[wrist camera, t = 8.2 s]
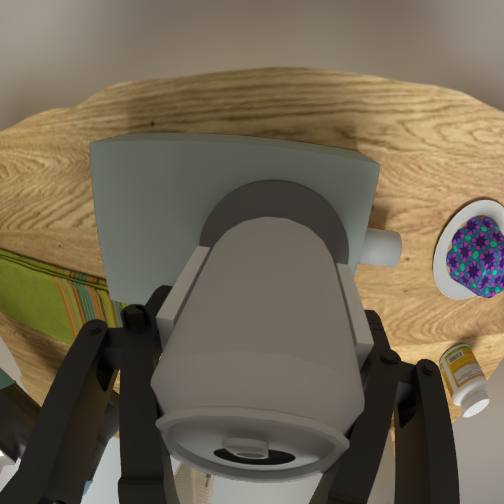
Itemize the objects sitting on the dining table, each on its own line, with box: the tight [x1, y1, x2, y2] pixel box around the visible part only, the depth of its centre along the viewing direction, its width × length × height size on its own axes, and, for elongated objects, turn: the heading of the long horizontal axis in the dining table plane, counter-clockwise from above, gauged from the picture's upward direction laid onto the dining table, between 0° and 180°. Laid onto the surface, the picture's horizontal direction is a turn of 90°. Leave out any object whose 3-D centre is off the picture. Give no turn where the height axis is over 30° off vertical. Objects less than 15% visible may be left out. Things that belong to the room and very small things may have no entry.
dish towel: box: [0, 248, 131, 345], centre depth 34 cm, size 15×36×3 cm, turn 82°
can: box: [150, 217, 365, 483], centre depth 12 cm, size 8×8×12 cm
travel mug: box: [367, 428, 395, 504], centre depth 32 cm, size 6×7×20 cm
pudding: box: [433, 200, 504, 300], centre depth 22 cm, size 12×12×5 cm
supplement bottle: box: [439, 344, 489, 417], centre depth 27 cm, size 5×5×10 cm
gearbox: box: [90, 133, 402, 306], centre depth 21 cm, size 24×14×8 cm, turn 85°
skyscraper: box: [174, 462, 214, 504], centre depth 33 cm, size 8×8×28 cm
